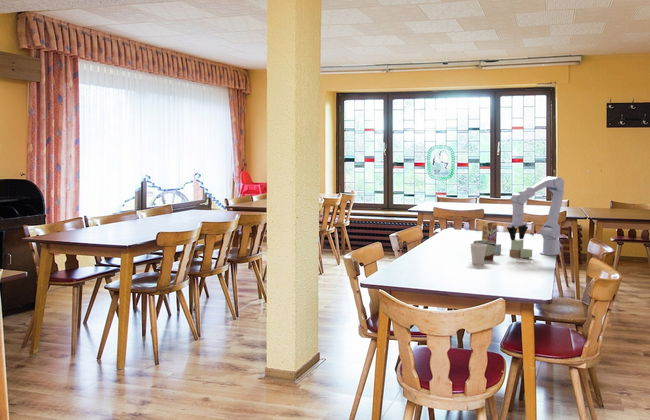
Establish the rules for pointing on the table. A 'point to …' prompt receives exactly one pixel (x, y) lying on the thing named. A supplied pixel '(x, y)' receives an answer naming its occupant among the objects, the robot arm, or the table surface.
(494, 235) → the candy box
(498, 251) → the slate block
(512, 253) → the walnut plinth
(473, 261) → the dixie cup
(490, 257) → the food container
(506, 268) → the table surface
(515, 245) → the sage block
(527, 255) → the pale green block
